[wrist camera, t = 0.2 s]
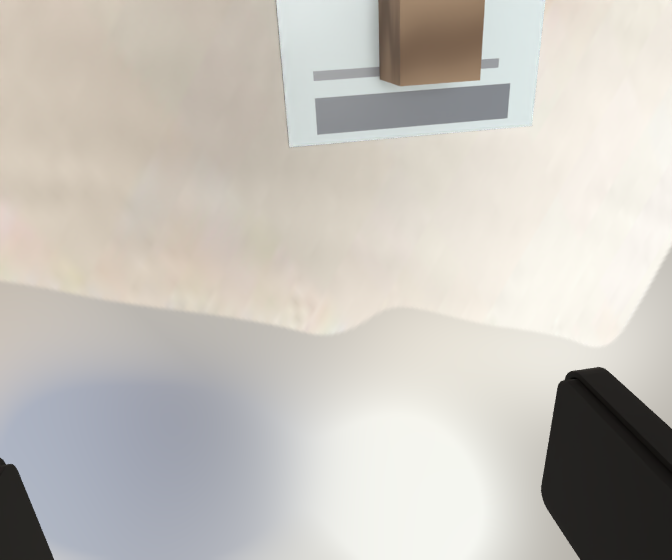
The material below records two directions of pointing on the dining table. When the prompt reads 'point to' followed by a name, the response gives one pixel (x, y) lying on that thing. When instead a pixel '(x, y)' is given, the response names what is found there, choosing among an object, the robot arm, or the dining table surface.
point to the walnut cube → (430, 41)
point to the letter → (392, 100)
